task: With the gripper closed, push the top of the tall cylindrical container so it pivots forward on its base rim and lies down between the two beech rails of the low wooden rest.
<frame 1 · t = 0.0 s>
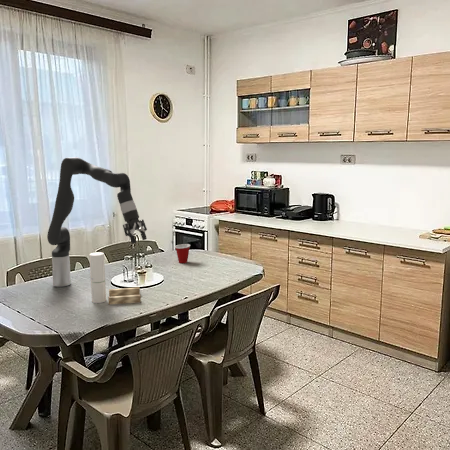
hand: (139, 241, 224), 31 cm above the table, tool tilted 20°, fingers open, 8 cm apart
rest: (124, 298, 232), on the table
plastic cup: (182, 262, 304), on the table
cylindrical container: (99, 301, 229), on the table
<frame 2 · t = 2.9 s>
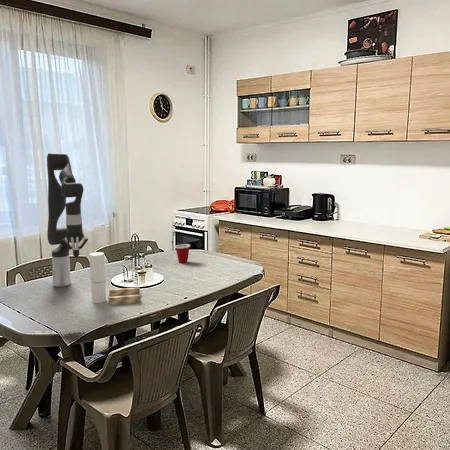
hand: (76, 256, 223), 24 cm above the table, tool pointing down, fingers closed
nothing on the table moved.
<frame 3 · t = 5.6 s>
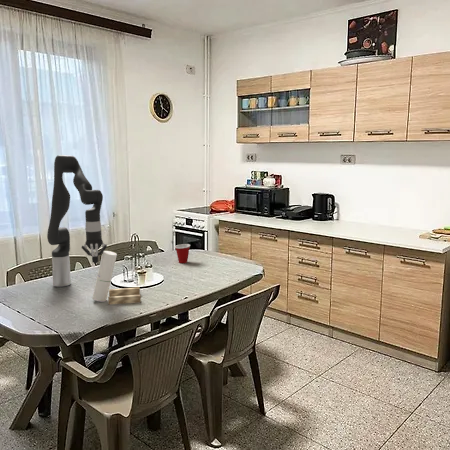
hand: (95, 263, 225), 20 cm above the table, tool pointing down, fingers closed
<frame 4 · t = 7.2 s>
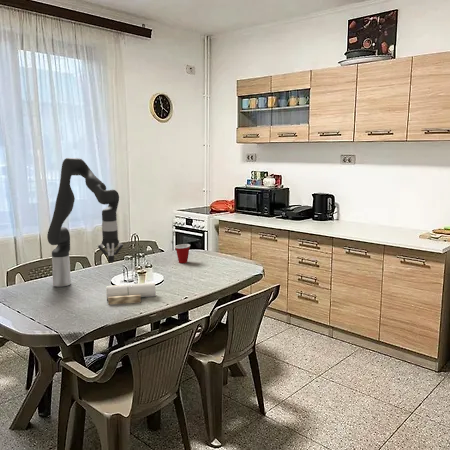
hand: (111, 262, 227), 20 cm above the table, tool pointing down, fingers closed
cylindrical container: (106, 292, 231), point 4 cm above the table, touching rest
everything else where it was.
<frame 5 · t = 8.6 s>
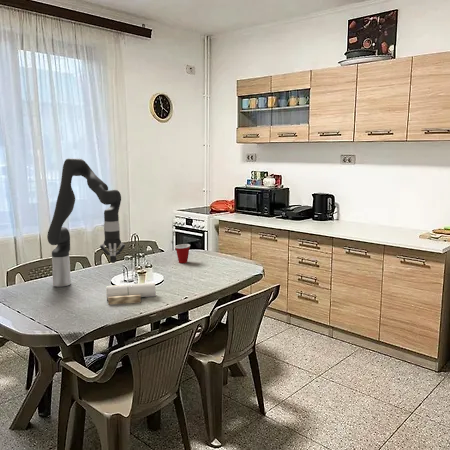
hand: (113, 262, 227), 20 cm above the table, tool pointing down, fingers closed
nothing on the table moved.
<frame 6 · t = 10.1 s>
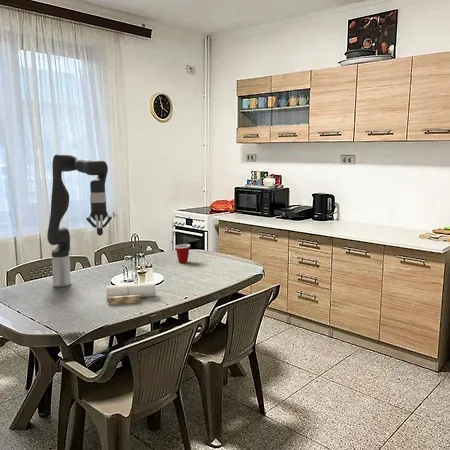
hand: (100, 235, 223), 35 cm above the table, tool pointing down, fingers closed
nothing on the table moved.
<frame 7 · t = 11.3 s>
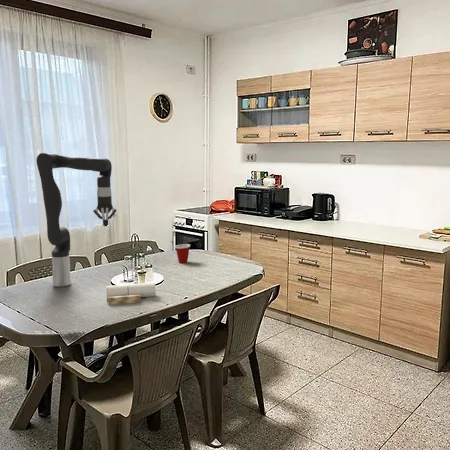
hand: (105, 226, 246), 35 cm above the table, tool pointing down, fingers closed
nothing on the table moved.
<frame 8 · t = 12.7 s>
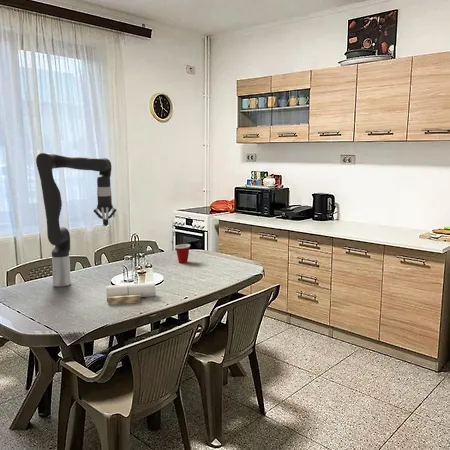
hand: (105, 225, 247), 35 cm above the table, tool pointing down, fingers closed
nothing on the table moved.
at the end: cylindrical container tilted 90°; cylindrical container inside the target area (6.3 cm from its centre), point 3.6 cm above the table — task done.
